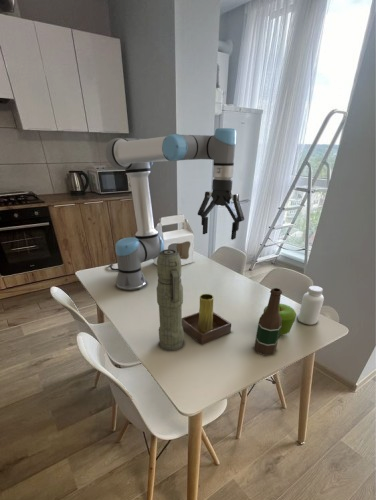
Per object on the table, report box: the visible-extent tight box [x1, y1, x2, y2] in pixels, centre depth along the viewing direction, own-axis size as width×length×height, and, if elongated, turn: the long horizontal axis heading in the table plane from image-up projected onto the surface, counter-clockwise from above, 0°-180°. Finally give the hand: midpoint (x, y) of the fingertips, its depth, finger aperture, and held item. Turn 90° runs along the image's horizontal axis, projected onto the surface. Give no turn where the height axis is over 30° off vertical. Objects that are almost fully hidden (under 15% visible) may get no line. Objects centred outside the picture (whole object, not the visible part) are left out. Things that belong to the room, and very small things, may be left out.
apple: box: [262, 303, 297, 336], centre depth 113 cm, size 12×12×11 cm
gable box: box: [152, 213, 195, 266], centre depth 173 cm, size 22×13×28 cm, turn 126°
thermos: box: [156, 248, 184, 351], centre depth 98 cm, size 9×12×35 cm
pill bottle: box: [297, 285, 325, 326], centre depth 119 cm, size 8×8×15 cm
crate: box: [182, 311, 232, 345], centre depth 115 cm, size 15×15×4 cm
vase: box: [198, 293, 214, 332], centre depth 112 cm, size 6×6×14 cm
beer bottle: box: [254, 287, 283, 356], centre depth 99 cm, size 8×8×24 cm
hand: (218, 236), depth 120 cm, fingers open, 13 cm apart
